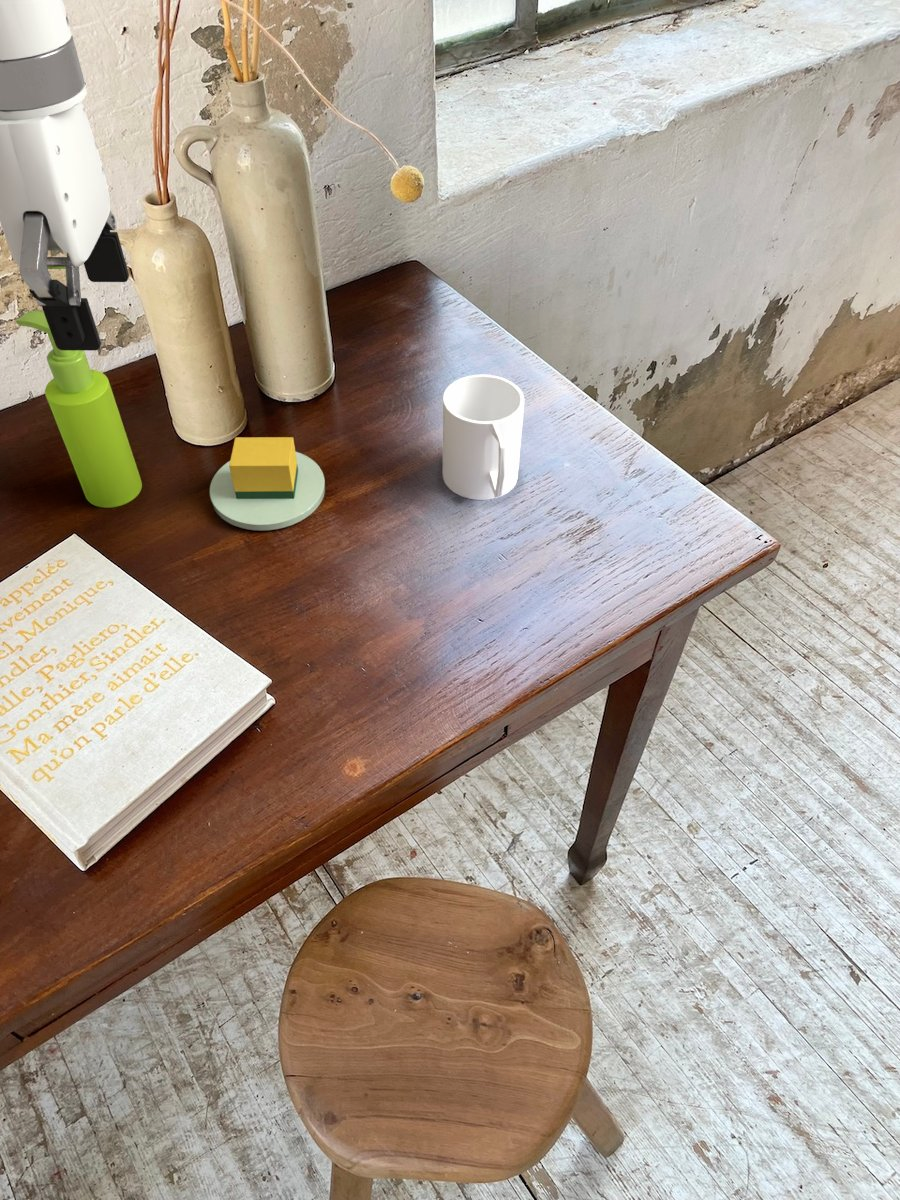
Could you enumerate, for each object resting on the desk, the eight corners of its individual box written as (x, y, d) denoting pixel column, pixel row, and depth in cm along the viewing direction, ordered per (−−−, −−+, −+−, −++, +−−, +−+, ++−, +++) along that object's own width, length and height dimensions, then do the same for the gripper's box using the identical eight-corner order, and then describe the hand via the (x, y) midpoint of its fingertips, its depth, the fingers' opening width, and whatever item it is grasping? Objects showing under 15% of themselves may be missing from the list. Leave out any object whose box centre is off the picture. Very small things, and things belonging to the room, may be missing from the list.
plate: (203, 533, 92) (200, 524, 91) (220, 456, 100) (218, 448, 99) (321, 532, 92) (320, 524, 91) (329, 456, 100) (328, 447, 99)
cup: (460, 529, 93) (462, 453, 85) (435, 455, 100) (435, 379, 93) (537, 518, 94) (545, 441, 86) (506, 445, 101) (512, 370, 94)
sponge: (236, 499, 93) (228, 465, 90) (242, 470, 96) (235, 437, 93) (294, 498, 94) (289, 465, 90) (298, 470, 97) (293, 436, 93)
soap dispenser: (102, 462, 99) (42, 295, 84) (153, 481, 97) (101, 314, 82) (65, 494, 95) (-5, 326, 80) (117, 514, 93) (56, 346, 78)
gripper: (2, 27, 63) (75, 257, 76) (-90, 128, 52) (14, 378, 65) (109, 28, 64) (164, 257, 76) (41, 128, 52) (119, 378, 65)
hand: (95, 312), depth 71 cm, fingers open, 9 cm apart
